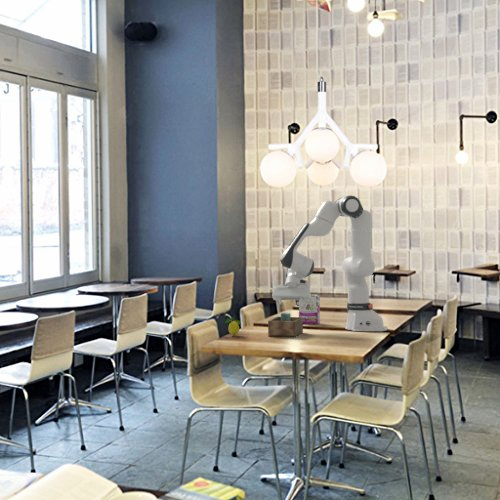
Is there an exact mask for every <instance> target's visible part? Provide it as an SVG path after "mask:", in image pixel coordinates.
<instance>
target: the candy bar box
mask: <svg viewBox="0 0 500 500" xmlns="http://www.w3.org/2000/svg"><path fill="white" fill-rule="evenodd" d="M320 299H321V298H320V294H311V296H310V299H309V300H303V302H302V303H301V304H300V306H298V317H303V325H319V324H321V307H320V306H321V302H320V301H321V300H320ZM299 301H300V300H298V302H299Z"/></svg>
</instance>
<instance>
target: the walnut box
mask: <svg viewBox="0 0 500 500" xmlns="http://www.w3.org/2000/svg"><path fill="white" fill-rule="evenodd" d="M290 317H291V321H281V316H275V317H273V318H271V319H269V320H268V321H267V323H268V324H267V331H268V332H267V336H268V337H273V338H294V337H295V338H297V337H298V336H299V334H300V335H301V333H302V334H303V332H304V324H303V317H299V316H298V317H297V316H296V317H295V316H290ZM296 336H297V337H296Z"/></svg>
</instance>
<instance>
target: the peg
mask: <svg viewBox="0 0 500 500" xmlns="http://www.w3.org/2000/svg"><path fill="white" fill-rule="evenodd" d="M280 317H281V321H291V317H292V316H291V312H282V313H280Z"/></svg>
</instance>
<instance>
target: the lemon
mask: <svg viewBox="0 0 500 500" xmlns="http://www.w3.org/2000/svg"><path fill="white" fill-rule="evenodd" d="M232 320H233V321H232ZM228 323H229V325H228V332H229V334H231V335H232V336H234V337H235V336H236V335H237V334H238V333H240V326H242V322H241V321H240V320H238V319H235V318H234V317H229V318H227V319H226V320H225V322H224V324H228ZM239 325H240V326H239Z"/></svg>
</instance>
